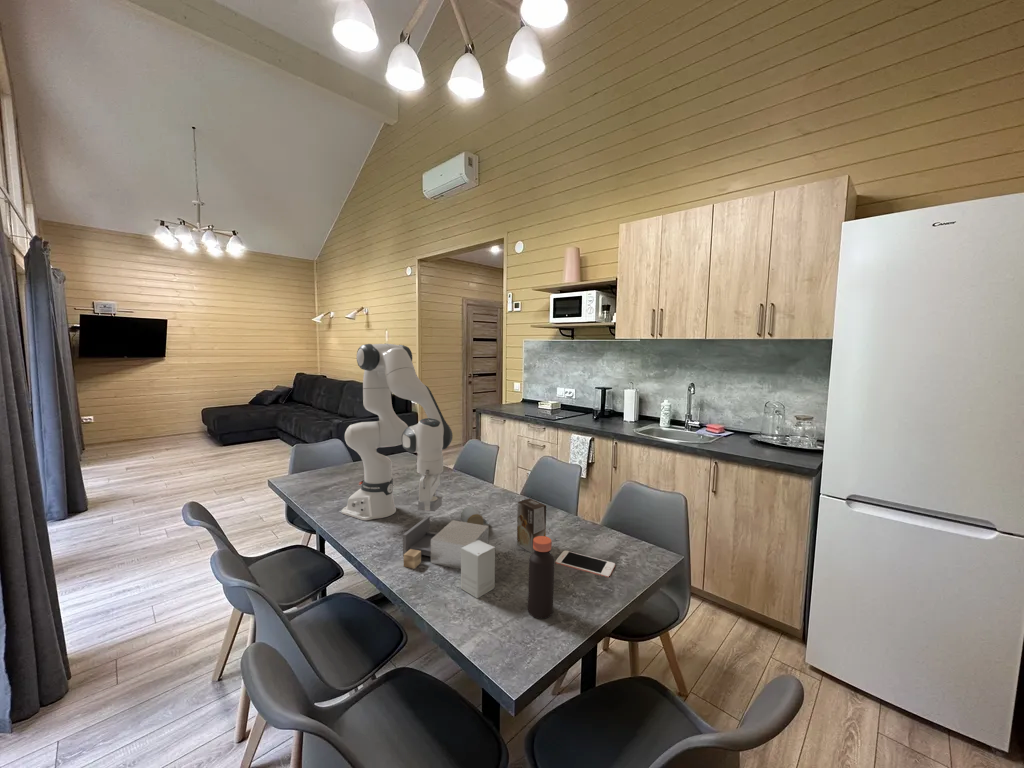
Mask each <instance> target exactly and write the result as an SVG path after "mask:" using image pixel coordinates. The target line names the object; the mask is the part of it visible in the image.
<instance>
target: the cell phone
mask: <svg viewBox="0 0 1024 768" xmlns="http://www.w3.org/2000/svg"><path fill="white" fill-rule="evenodd" d="M555 564H557V565H561V566H565V567H568V568H571V569H574V570H575V569H576V570H579V571H583V572H587V573H590V574H594V575H597V576H600V575H601V577H604V576H605V578H610V577H609V576H611V575H612V573H613V571H614V568H615V567H616V563H615V562H612V561H608V560H604V559H600V558H597V557H592V556H589V555H584V554H580V553H577V552H572V551H570V550H563V551H562V552H561V553H560V555H559V556H558V557H557V558H556V559H555Z"/></svg>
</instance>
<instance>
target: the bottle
mask: <svg viewBox="0 0 1024 768" xmlns="http://www.w3.org/2000/svg"><path fill="white" fill-rule="evenodd" d="M552 541H553V540H552V539H551V538H550V537H548V536H547V535H546V536H537V537H535V538H534V539H533V550H534V552H533V553H530V555H529V558H528V593H527V610H528V611H527V612H528V613H529V615H530V616H532V617H534V618H536V619H547V618H549V617H550V616H552V614H553V613H554V590H555V589H554V588H555V562H556V559H555V557H554V555H553V554H552V553H551V551H552Z"/></svg>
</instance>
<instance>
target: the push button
mask: <svg viewBox="0 0 1024 768" xmlns="http://www.w3.org/2000/svg"><path fill="white" fill-rule="evenodd" d="M442 499H443V498H442V496H438V495H437V496H436V495H435V496H433V497H432V499H431V501H430V504H431V509H430V511H429V512H436V511H437V510H438V509H439V508H441V506H443V500H442ZM417 508H418V509H417V510H418V511H425V505H424V502H420V501H419V500H418V501H417Z"/></svg>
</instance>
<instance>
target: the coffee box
mask: <svg viewBox="0 0 1024 768" xmlns="http://www.w3.org/2000/svg"><path fill="white" fill-rule="evenodd" d="M516 513H517V514H516V515H517V518H516V519H517V520H516V521H517V522H516V523H517V525H516V527H517V528H516V529H517V531H516V545H517V546H518V547H520V548H522V549H524V550H525V551H526V552H528V553H530V554H532V553H533V552H534V550H533V539H534V538H535V537H537V536H546V537H547V535H546V533H547V531H546V530H547V529H546V528H547V505H546V504H545V503H542V502H540V501H537V500H535V499H532V498H526V499H522V500H520V501H517V512H516Z"/></svg>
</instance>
